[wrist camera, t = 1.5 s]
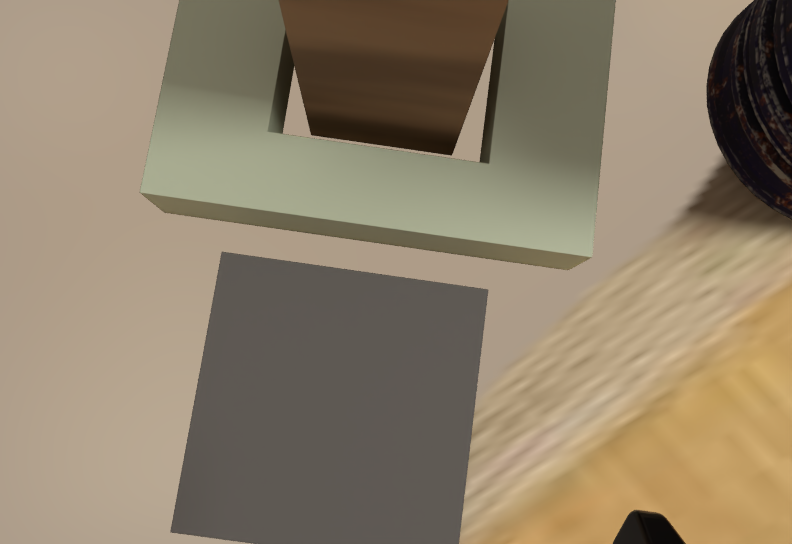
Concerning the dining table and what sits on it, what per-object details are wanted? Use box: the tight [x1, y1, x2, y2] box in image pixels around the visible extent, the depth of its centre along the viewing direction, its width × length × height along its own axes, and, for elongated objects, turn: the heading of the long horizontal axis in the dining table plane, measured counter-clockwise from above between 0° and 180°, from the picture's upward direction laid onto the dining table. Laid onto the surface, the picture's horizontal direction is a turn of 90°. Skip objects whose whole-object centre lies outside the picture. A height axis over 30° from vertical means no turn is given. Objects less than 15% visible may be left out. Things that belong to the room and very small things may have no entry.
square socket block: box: [140, 0, 616, 270], centre depth 23 cm, size 16×14×2 cm
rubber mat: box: [171, 252, 488, 544], centre depth 22 cm, size 9×9×1 cm
